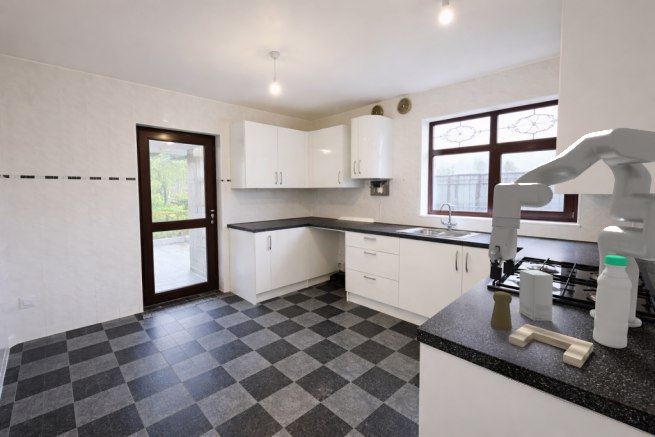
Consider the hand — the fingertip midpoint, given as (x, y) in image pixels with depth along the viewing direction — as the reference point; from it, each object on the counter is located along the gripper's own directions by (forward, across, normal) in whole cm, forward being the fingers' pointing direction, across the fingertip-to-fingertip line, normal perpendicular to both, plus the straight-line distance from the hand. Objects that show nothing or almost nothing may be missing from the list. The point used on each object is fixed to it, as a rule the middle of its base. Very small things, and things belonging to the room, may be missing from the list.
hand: (502, 277), depth 96 cm
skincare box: (+16, -18, +4) cm, 24 cm away
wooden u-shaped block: (+16, +3, +14) cm, 22 cm away
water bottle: (+16, -13, +24) cm, 32 cm away
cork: (+16, -1, 0) cm, 16 cm away
